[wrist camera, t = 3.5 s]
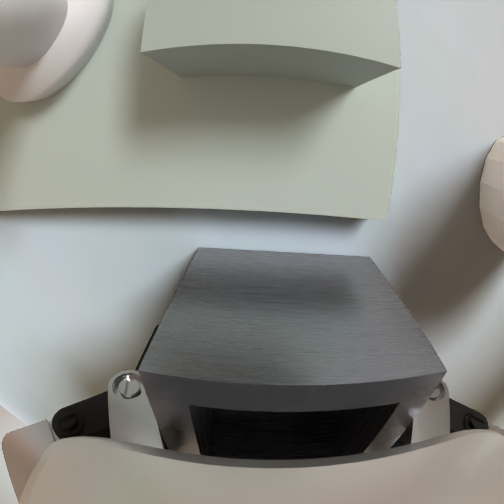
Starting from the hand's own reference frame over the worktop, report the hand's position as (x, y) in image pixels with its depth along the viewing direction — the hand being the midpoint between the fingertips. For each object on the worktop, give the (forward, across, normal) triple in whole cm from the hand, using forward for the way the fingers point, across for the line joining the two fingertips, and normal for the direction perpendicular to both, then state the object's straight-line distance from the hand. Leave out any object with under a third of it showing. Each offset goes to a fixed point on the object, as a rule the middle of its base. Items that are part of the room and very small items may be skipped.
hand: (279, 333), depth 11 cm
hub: (+1, 0, 0) cm, 1 cm away
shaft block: (+1, +6, -11) cm, 13 cm away
